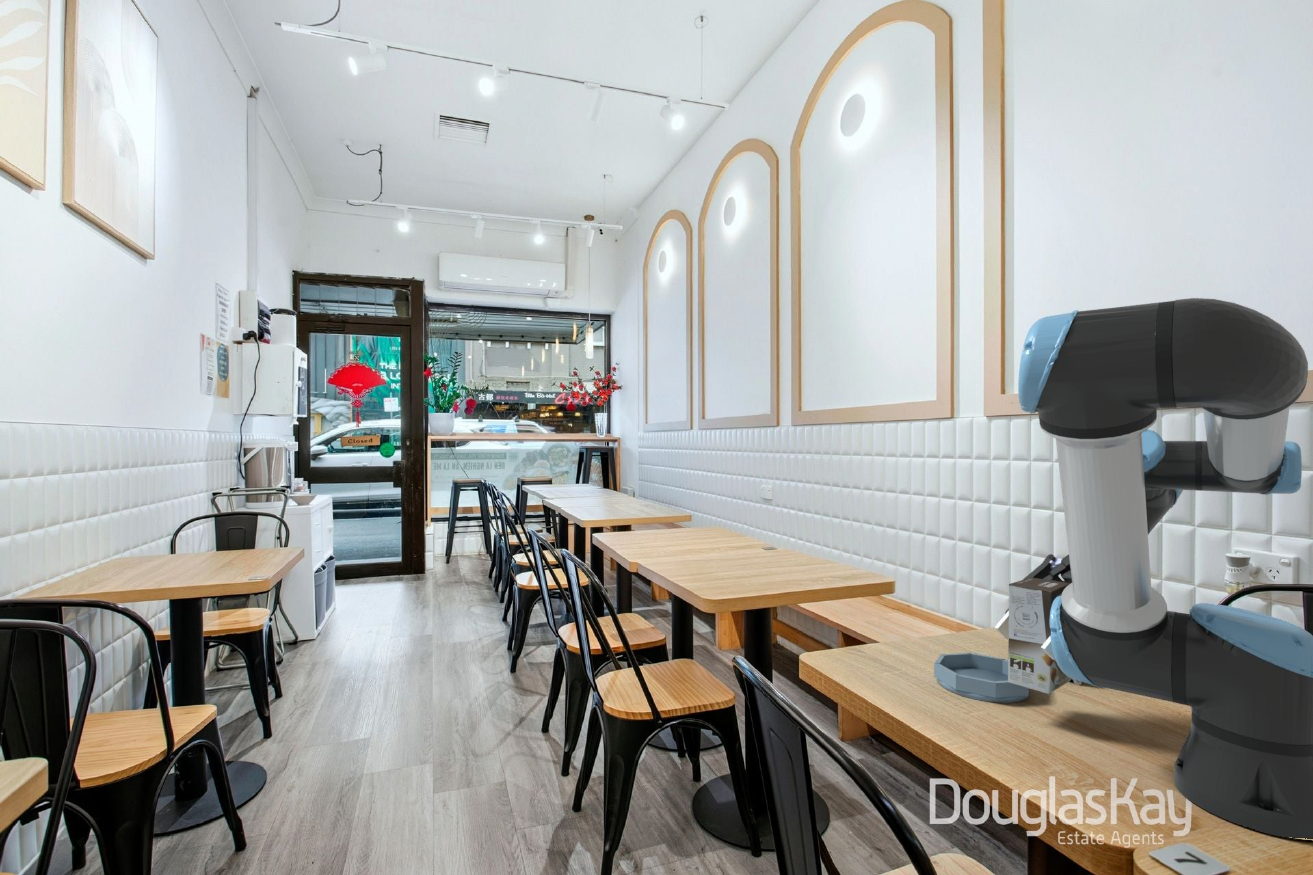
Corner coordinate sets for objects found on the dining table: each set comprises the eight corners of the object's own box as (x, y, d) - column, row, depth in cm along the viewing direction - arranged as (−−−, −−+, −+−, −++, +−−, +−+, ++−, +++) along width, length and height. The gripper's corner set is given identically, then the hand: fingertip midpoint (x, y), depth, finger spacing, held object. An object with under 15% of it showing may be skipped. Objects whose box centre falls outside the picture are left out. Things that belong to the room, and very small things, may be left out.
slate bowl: (1049, 699, 109) (1049, 679, 109) (972, 705, 106) (972, 684, 106) (988, 669, 123) (988, 651, 123) (920, 673, 121) (920, 655, 121)
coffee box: (1051, 695, 96) (1051, 591, 96) (1006, 682, 101) (1007, 583, 101) (1072, 680, 102) (1072, 582, 102) (1029, 669, 107) (1029, 575, 107)
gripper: (1187, 571, 93) (1096, 685, 91) (1065, 545, 115) (989, 636, 112) (1158, 537, 92) (1065, 650, 90) (1040, 517, 114) (963, 608, 111)
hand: (1023, 643), depth 101 cm, fingers closed on coffee box, 9 cm apart
